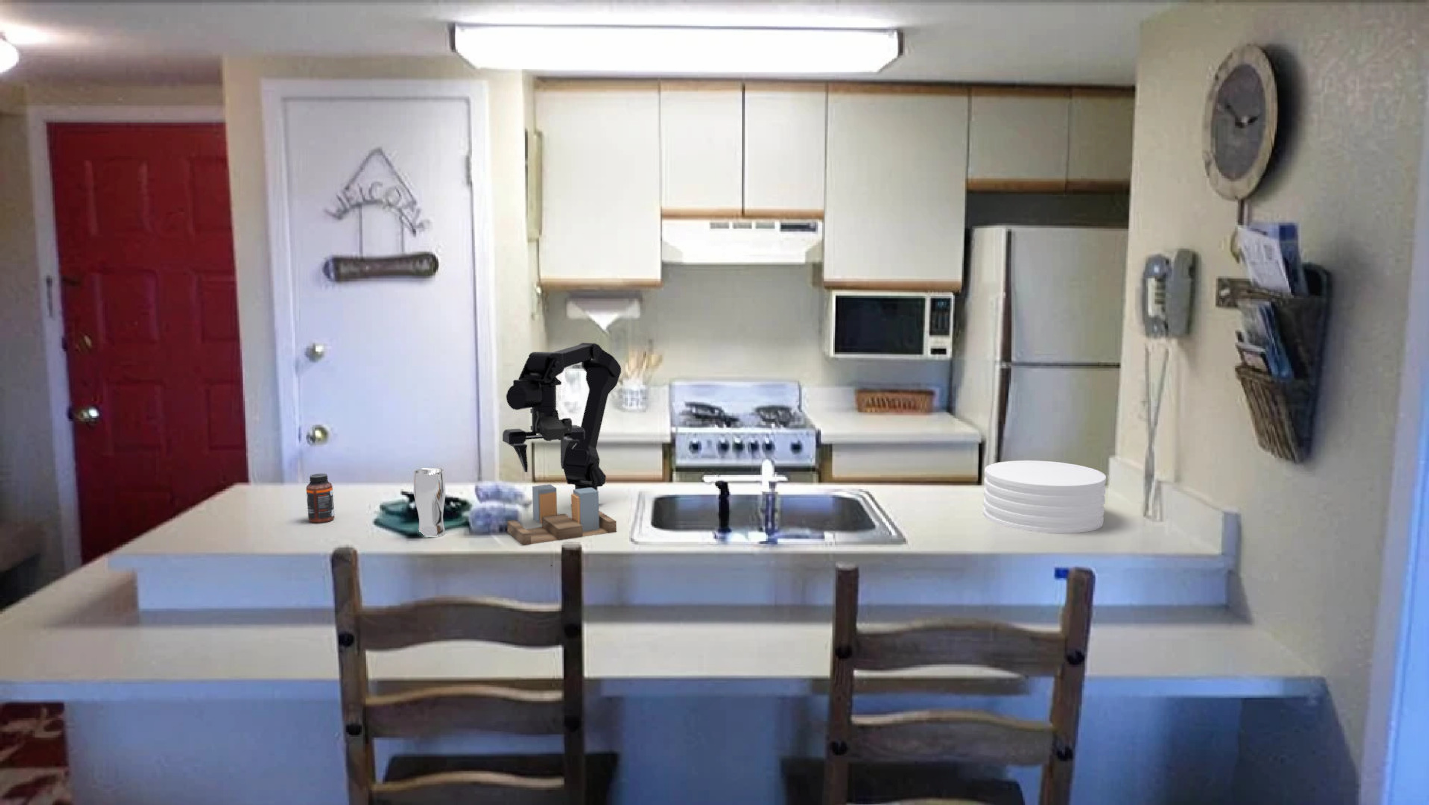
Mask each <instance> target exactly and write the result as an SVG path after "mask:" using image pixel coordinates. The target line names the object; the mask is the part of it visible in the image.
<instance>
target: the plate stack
mask: <svg viewBox="0 0 1429 805" xmlns="http://www.w3.org/2000/svg"><path fill="white" fill-rule="evenodd" d="M984 476H985V477H984V480H983V481H984V482H983V485H984V488H983V496H984V497H983V501H982V502H983V503H982V504H983V510H982V515H983V517H984V518H985V519H986V520H988V521H990V522H992V523H994V524H996V525H1000V526H1003V527H1006V528H1010V529H1014V530H1018V531H1019V530H1020V531H1021V530H1022V531H1026V532H1035V533H1042V534H1043V533H1044V534H1045V533H1047V534H1079V533H1086V532H1091V531H1095V530H1098V529H1100V528H1101V527H1102V526H1103V525H1104V520H1105V518H1104V515H1105V506H1104V505H1105V501H1106V497H1105V495H1106V486H1105V484H1106V483H1107V476H1106V474H1104V472H1102V471H1099V470H1097V469H1095V468H1091V467H1087V466H1084V465H1079V464H1075V463H1074V464H1073V463H1068V462H1058V461H1049V460H1047V461H1046V460H1006V461H1000V462H999V461H998V462H995V463H992V464H988V465H987V466H985V468H984Z"/></svg>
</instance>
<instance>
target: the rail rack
mask: <svg viewBox="0 0 1429 805" xmlns="http://www.w3.org/2000/svg"><path fill="white" fill-rule="evenodd" d="M506 523H507V524H506V526H507V533H508V534H509V535H510V536H511V537H513V538H514V539H515V540H516V541H517V542H519V543H520V544H521V545H522V546H529V545H535V544H542V543H543V544H544V543H549V542H555V541H556V542H557V541H563V540H569V539H576V538H584V537H591V536H597V535H599V536H600V535H605V534H611V533H617V520H615V519H613V518H612V517H610V516H609V515H607V514H605V513H604V512H602V511H601V510H599V529H598V530H591V531H584V532H583V526H582V525H580V524H579V523H578V522H576V521H575V520H573V519H572V517H570V516H569V515H567V514H566V513H559V514H558V513H557V515H550V516H543V517H542V523H541V527H532V528H525V527H524V526H523V525H522V524H520V523H519V522H518V521H517V520H507V521H506Z"/></svg>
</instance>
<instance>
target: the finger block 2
mask: <svg viewBox="0 0 1429 805" xmlns="http://www.w3.org/2000/svg"><path fill="white" fill-rule="evenodd" d="M599 496H600V495H599V490H598V491H597V490H595V489H593V488H582V489H575V488H574V489H572V494H570V499H571V504H570V508H571V518H572V519H573V520H575V521H576V522H578V523H579V524H580V525H582V526H583V532H584V531H591V530H598V529H599V511H600V510H599V509H600V506H599V505H600V504H599Z"/></svg>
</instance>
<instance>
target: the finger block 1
mask: <svg viewBox="0 0 1429 805" xmlns="http://www.w3.org/2000/svg"><path fill="white" fill-rule="evenodd" d="M531 487H532V489H531V491H532V494H531V495H532V518H533V520H534V521H536V522H537V523H538V524H542V517H543V516H550V515H558V501H557V500H558V498H557V496H558V495H557V493H558V492H557V487H555V486H554V485H552V484H551V483H549V484H540V485H532V486H531Z"/></svg>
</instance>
